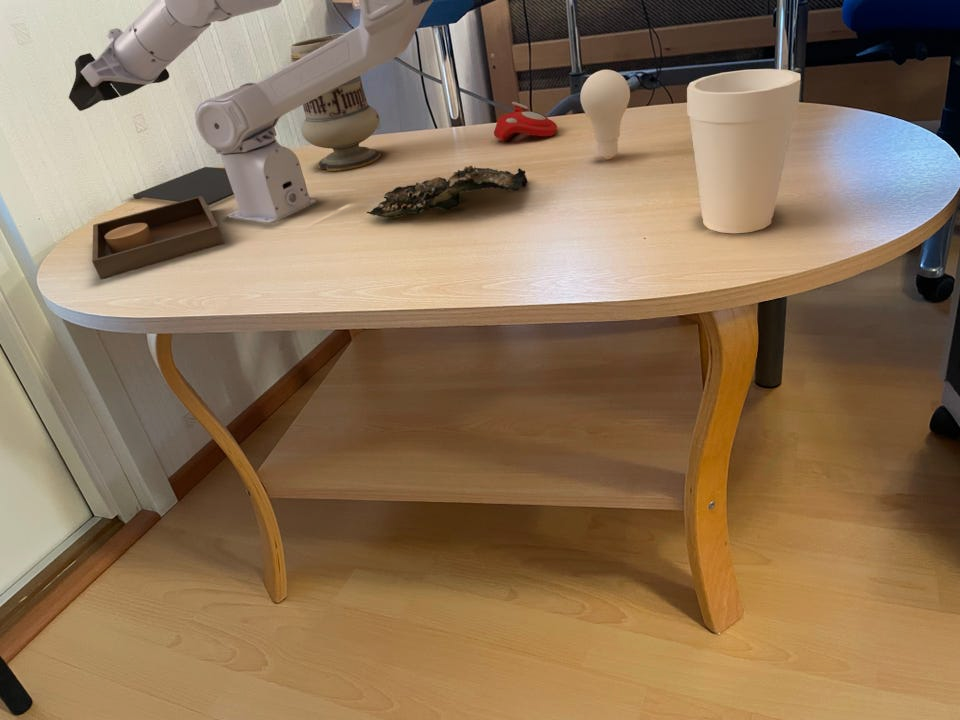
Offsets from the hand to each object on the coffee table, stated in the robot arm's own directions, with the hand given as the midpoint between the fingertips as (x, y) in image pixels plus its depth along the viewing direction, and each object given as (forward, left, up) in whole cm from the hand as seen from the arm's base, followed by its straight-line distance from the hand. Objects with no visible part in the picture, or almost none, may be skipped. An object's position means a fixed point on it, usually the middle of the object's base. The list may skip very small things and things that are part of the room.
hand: (97, 96), depth 92 cm
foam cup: (-79, -16, -17) cm, 82 cm away
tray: (-14, +7, -17) cm, 23 cm away
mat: (+2, -12, -17) cm, 21 cm away
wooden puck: (-11, +9, -16) cm, 21 cm away
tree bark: (-45, -14, -17) cm, 50 cm away
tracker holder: (-38, -44, -17) cm, 61 cm away
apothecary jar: (-15, -27, -17) cm, 35 cm away
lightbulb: (-57, -33, -17) cm, 68 cm away
